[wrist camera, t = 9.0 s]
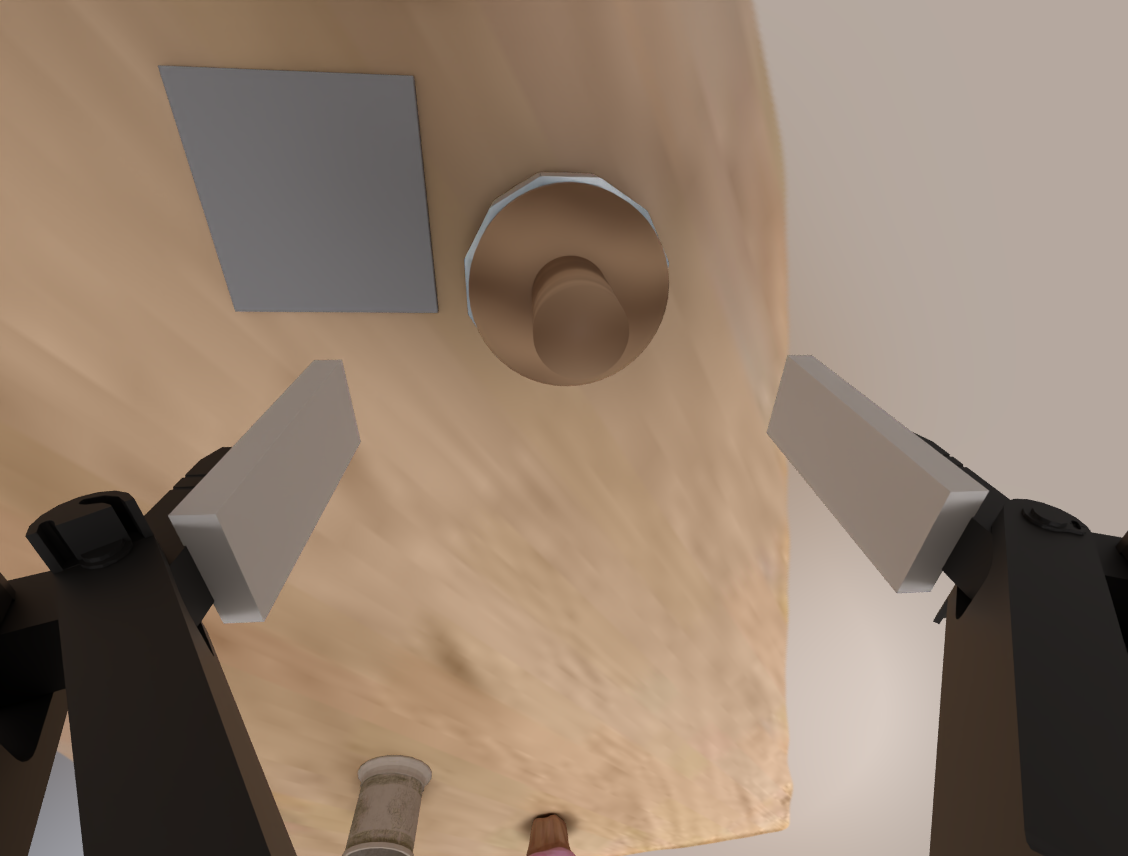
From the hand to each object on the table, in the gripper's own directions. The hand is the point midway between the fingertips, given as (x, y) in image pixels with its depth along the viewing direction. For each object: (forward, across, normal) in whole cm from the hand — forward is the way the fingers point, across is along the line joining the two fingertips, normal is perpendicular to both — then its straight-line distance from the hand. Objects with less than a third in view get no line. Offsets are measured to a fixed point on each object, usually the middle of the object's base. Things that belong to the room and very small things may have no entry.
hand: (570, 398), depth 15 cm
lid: (+18, +1, -1) cm, 18 cm away
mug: (+22, -22, -71) cm, 78 cm away
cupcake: (+22, 0, -86) cm, 89 cm away
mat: (+23, -15, +3) cm, 27 cm away
